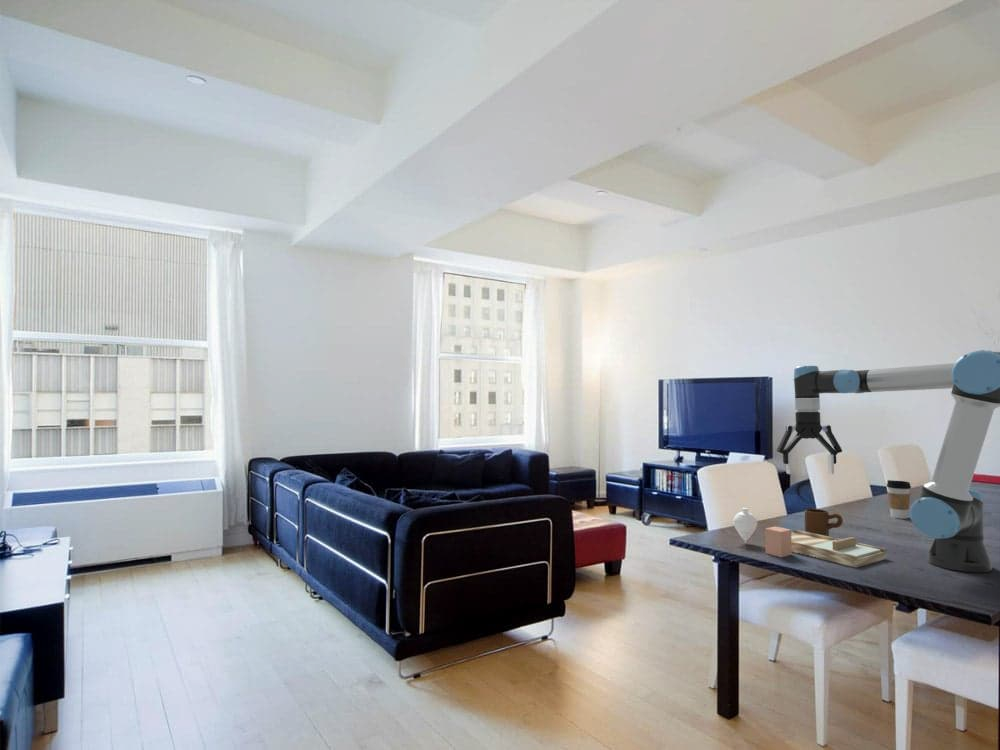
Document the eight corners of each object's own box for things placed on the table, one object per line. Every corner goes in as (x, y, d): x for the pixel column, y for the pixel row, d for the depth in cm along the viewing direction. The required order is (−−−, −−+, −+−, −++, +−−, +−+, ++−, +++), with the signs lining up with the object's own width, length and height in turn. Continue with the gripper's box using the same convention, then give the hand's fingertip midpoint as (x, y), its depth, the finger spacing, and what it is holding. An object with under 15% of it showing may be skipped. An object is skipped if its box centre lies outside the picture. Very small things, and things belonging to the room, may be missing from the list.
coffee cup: (882, 515, 248) (881, 479, 248) (900, 514, 249) (900, 479, 249) (897, 519, 239) (897, 482, 240) (916, 519, 240) (916, 482, 241)
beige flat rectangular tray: (885, 558, 184) (885, 548, 184) (856, 567, 175) (855, 556, 175) (794, 538, 210) (794, 529, 210) (764, 545, 201) (764, 535, 201)
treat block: (791, 554, 189) (791, 529, 189) (781, 557, 186) (780, 531, 186) (775, 550, 194) (775, 526, 194) (765, 553, 191) (765, 528, 191)
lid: (880, 551, 184) (880, 541, 184) (854, 558, 177) (854, 547, 177) (835, 541, 196) (835, 532, 196) (809, 547, 189) (809, 537, 189)
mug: (844, 538, 210) (844, 511, 210) (841, 542, 204) (840, 515, 204) (807, 533, 217) (807, 507, 217) (802, 537, 211) (802, 511, 211)
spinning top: (728, 541, 205) (728, 507, 206) (745, 539, 208) (745, 505, 209) (745, 547, 198) (744, 511, 199) (762, 544, 201) (762, 509, 201)
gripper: (841, 410, 204) (843, 472, 203) (765, 411, 207) (767, 472, 206) (851, 410, 196) (854, 475, 195) (773, 411, 199) (775, 475, 198)
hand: (810, 473), depth 201 cm, fingers open, 13 cm apart
